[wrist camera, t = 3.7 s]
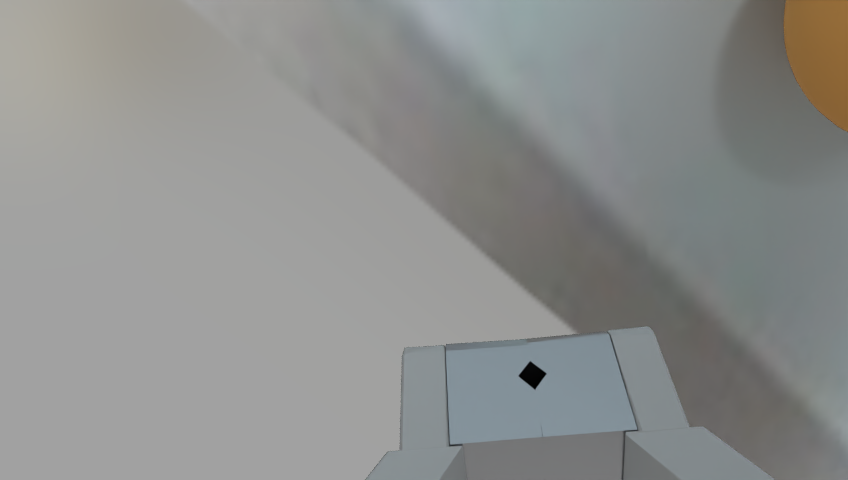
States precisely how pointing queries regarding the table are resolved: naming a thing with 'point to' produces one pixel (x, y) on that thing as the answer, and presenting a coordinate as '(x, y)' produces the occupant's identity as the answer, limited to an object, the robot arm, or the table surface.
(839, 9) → the ball
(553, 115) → the table surface
